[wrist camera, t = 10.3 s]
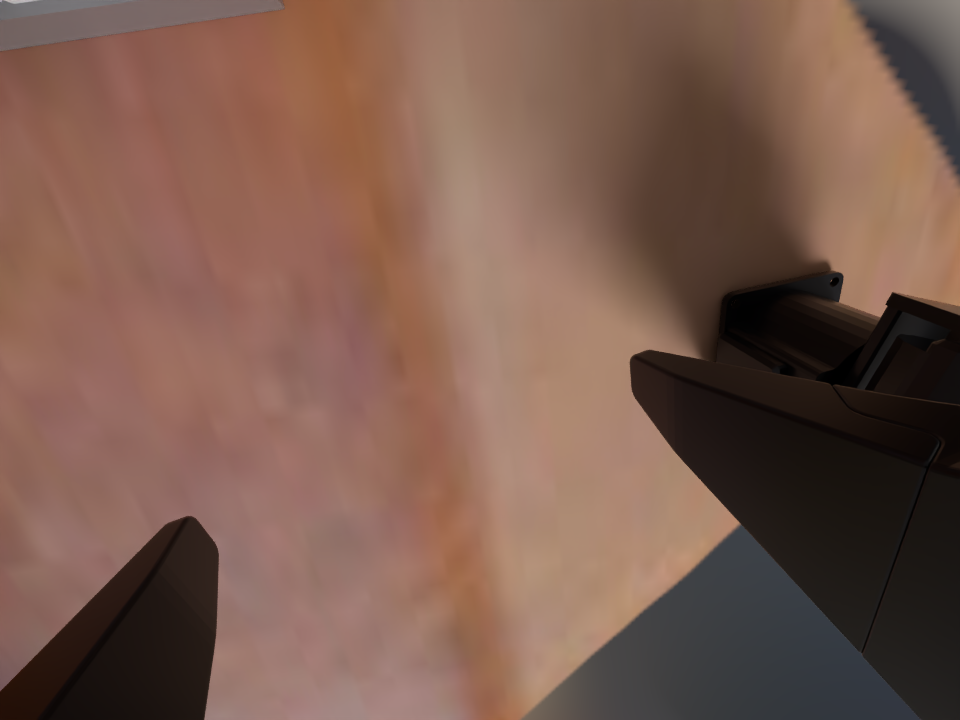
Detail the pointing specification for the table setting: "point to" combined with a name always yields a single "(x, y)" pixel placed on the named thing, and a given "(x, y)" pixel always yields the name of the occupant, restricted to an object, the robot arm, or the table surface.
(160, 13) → the ringed square flange
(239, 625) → the table surface
